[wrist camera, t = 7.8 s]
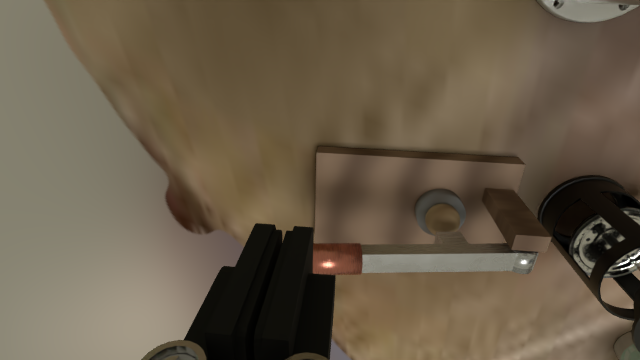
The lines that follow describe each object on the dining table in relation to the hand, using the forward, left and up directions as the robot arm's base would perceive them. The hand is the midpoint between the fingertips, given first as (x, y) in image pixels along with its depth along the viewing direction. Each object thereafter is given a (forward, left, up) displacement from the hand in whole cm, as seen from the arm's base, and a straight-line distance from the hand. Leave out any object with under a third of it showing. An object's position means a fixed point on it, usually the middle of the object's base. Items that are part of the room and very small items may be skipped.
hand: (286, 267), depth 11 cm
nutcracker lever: (-8, +14, -22) cm, 28 cm away
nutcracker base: (-9, +14, -31) cm, 35 cm away
